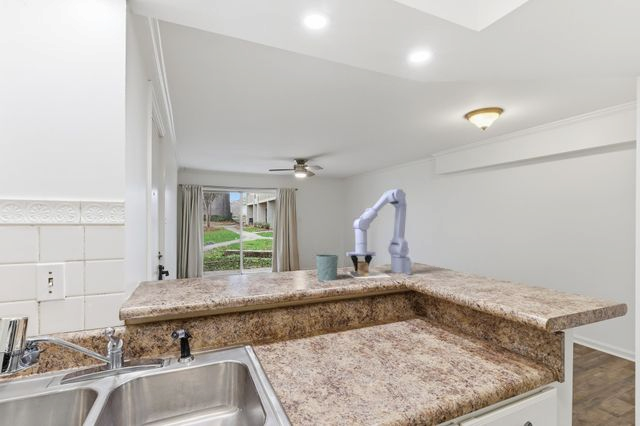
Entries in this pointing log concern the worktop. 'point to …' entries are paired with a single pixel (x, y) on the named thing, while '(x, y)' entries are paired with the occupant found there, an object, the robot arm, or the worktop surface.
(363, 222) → the robot arm
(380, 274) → the board
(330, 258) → the teal pot
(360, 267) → the sanding block
